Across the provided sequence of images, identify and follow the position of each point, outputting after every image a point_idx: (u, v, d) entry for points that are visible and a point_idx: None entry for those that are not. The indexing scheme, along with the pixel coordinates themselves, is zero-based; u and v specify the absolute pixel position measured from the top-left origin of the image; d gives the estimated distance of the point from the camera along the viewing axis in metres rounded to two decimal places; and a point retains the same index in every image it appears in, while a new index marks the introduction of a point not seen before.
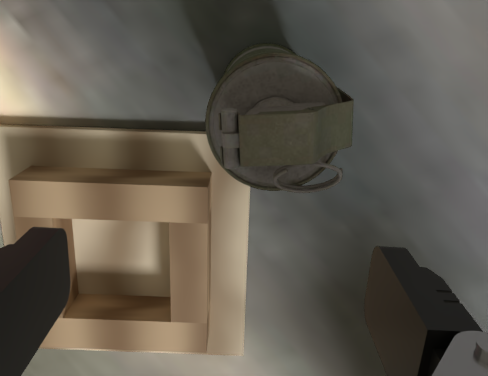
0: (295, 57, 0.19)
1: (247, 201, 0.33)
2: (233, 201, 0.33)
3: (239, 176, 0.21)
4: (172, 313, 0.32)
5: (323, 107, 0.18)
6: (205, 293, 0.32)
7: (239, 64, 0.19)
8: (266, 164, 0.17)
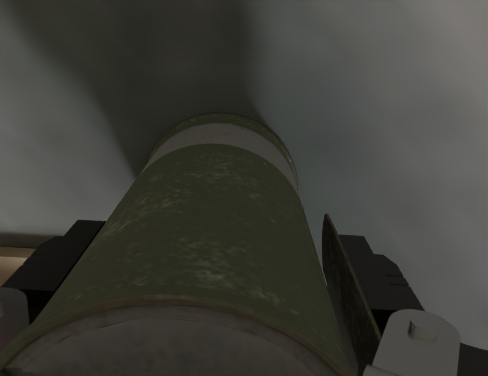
0: (231, 311, 0.06)
1: None
2: None
3: None
4: None
5: None
6: None
7: (46, 326, 0.06)
8: None
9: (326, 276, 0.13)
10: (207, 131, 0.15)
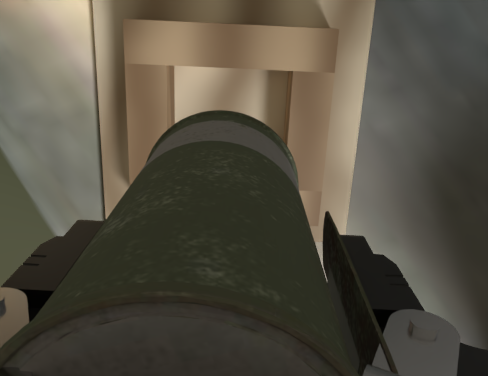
0: (232, 308, 0.06)
1: (365, 62, 0.31)
2: (350, 62, 0.31)
3: None
4: None
5: None
6: (324, 156, 0.30)
7: (46, 322, 0.06)
8: None
9: (327, 274, 0.13)
10: (208, 128, 0.15)
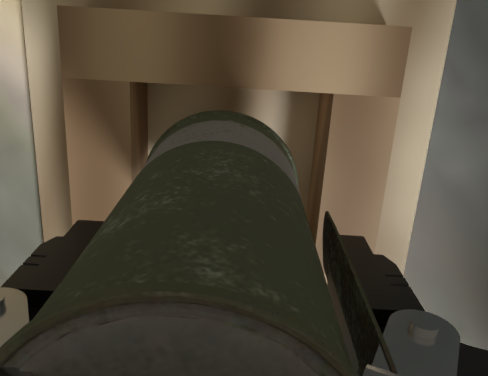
0: (231, 308, 0.06)
1: (437, 80, 0.20)
2: (415, 79, 0.20)
3: None
4: None
5: None
6: (376, 225, 0.19)
7: (45, 322, 0.06)
8: None
9: (326, 273, 0.13)
10: (207, 128, 0.15)
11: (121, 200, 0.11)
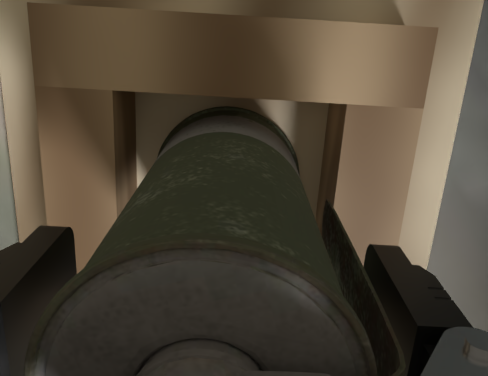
0: (258, 254, 0.07)
1: (461, 87, 0.18)
2: (436, 85, 0.18)
3: None
4: None
5: None
6: None
7: (105, 263, 0.07)
8: None
9: None
10: (219, 122, 0.16)
11: (145, 180, 0.12)
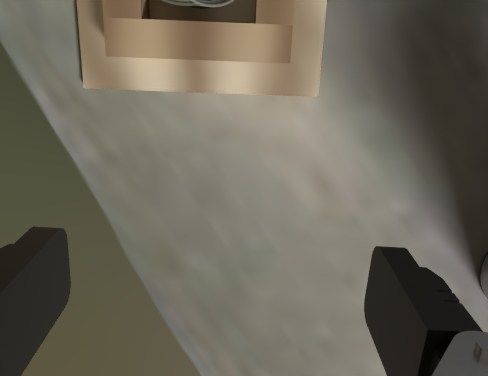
0: None
1: None
2: None
3: None
4: (257, 12, 0.31)
5: None
6: None
7: None
8: None
9: None
10: None
11: None
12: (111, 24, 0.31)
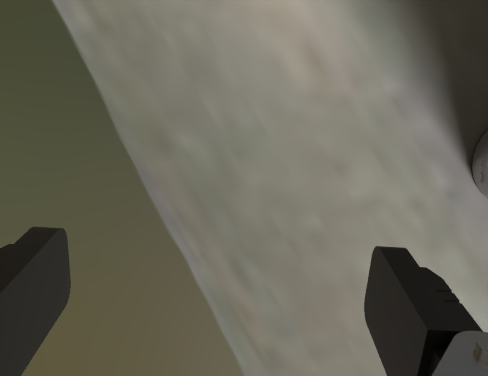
0: None
1: None
2: None
3: None
4: None
5: None
6: None
7: None
8: None
9: None
10: None
11: None
12: None
